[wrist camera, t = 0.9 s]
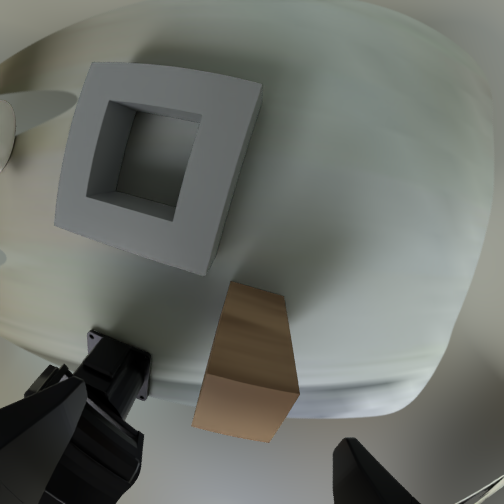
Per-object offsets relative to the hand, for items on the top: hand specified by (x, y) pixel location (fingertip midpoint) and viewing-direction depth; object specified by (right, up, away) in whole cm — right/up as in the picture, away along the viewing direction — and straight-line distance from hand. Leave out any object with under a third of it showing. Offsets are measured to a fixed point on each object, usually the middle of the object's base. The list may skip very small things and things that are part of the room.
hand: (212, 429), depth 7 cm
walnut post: (+1, +1, +13) cm, 13 cm away
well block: (-5, +12, +10) cm, 17 cm away
